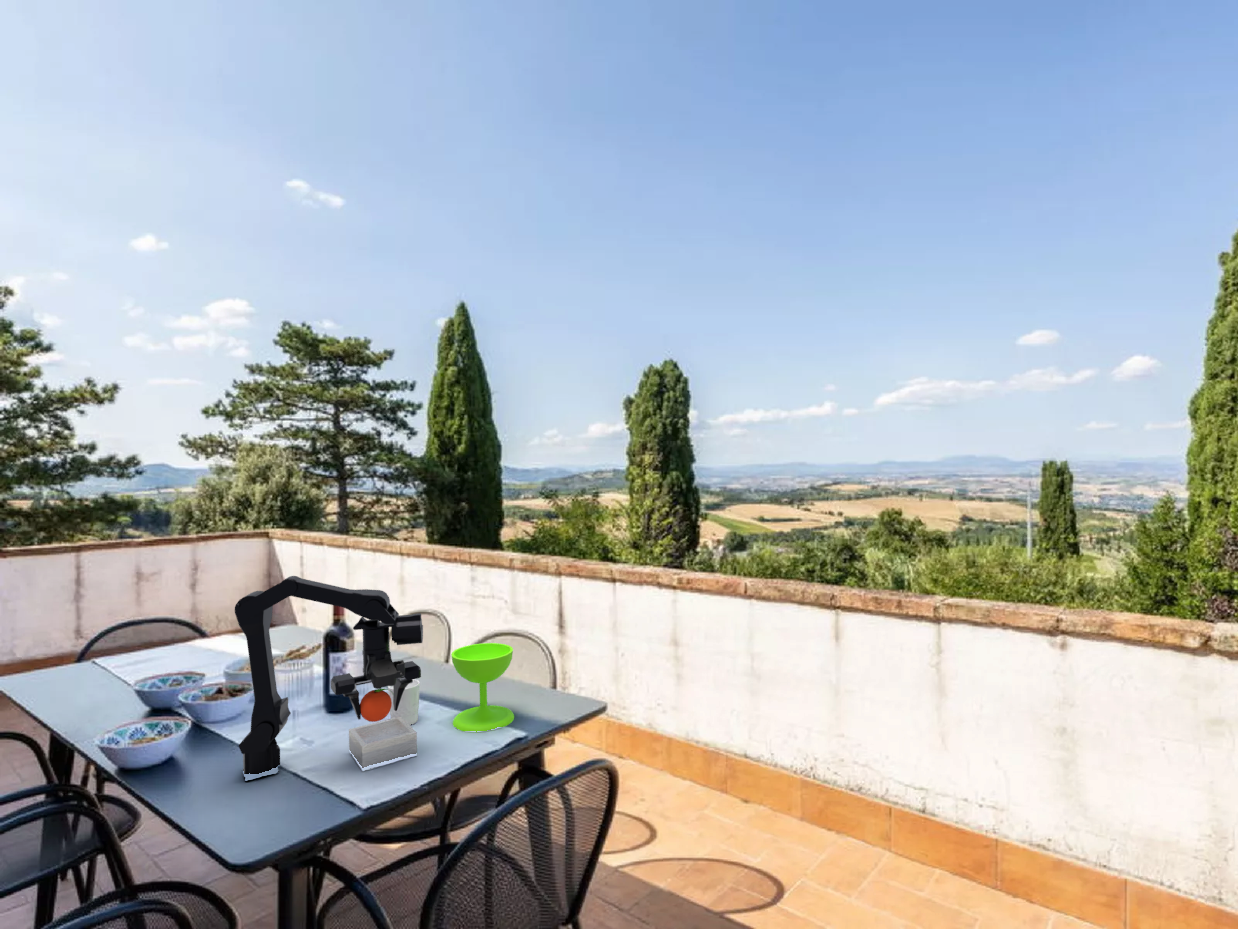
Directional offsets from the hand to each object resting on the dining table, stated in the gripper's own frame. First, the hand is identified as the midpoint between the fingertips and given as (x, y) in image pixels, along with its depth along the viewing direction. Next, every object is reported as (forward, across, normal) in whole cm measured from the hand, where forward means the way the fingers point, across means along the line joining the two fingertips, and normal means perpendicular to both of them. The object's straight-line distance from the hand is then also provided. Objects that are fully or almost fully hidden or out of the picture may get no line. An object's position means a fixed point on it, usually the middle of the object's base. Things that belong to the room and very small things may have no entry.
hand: (377, 714), depth 143 cm
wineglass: (+10, +28, +6) cm, 31 cm away
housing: (+10, +1, +2) cm, 10 cm away
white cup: (+10, +11, +18) cm, 23 cm away
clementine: (+1, 0, 0) cm, 1 cm away
